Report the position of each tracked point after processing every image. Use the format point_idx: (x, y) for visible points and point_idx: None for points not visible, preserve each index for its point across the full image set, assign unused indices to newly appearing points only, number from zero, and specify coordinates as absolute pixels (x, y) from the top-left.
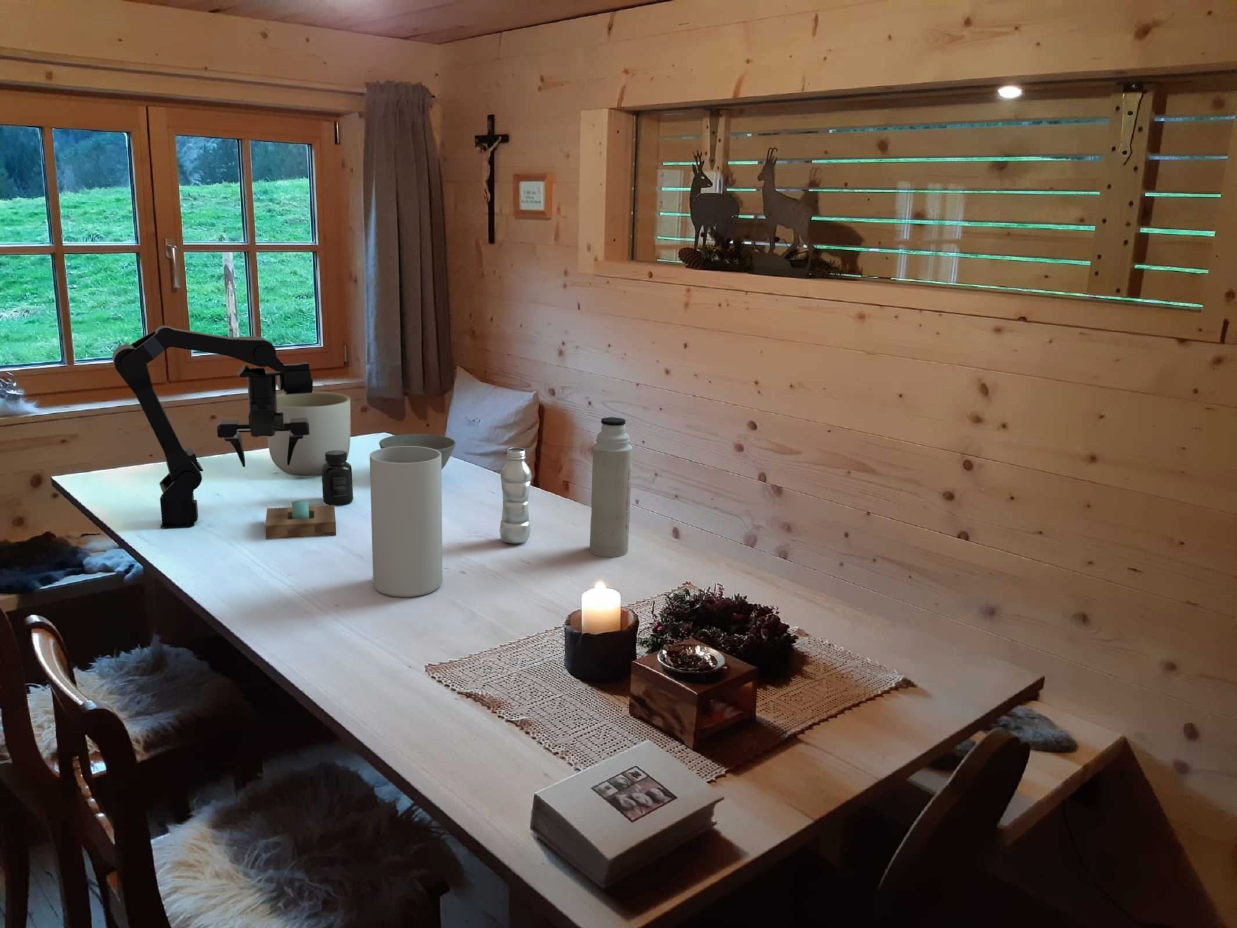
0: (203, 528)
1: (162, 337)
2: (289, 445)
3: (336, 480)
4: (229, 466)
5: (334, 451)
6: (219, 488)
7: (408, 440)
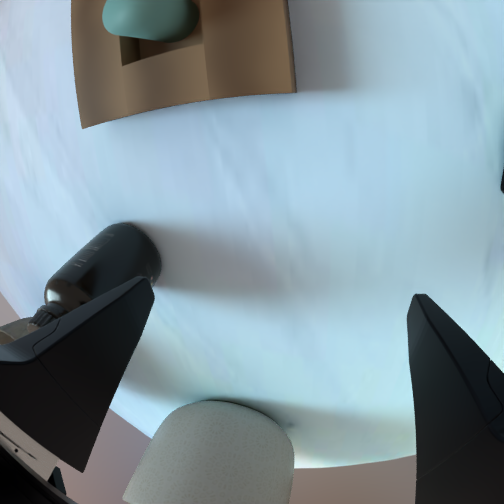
0: (485, 82)
1: None
2: (41, 349)
3: (78, 260)
4: (358, 447)
5: None
6: (401, 386)
7: None
